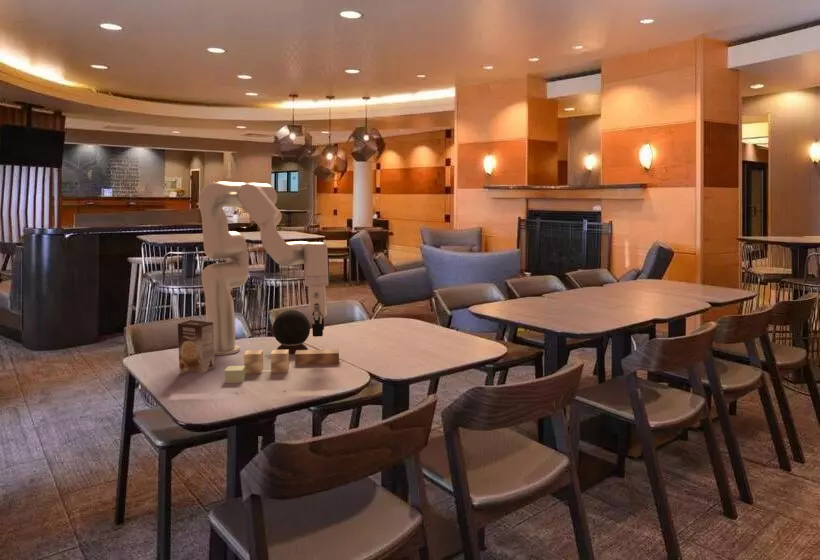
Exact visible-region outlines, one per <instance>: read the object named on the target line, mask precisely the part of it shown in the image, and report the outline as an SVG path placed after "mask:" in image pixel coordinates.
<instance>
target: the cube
mask: <svg viewBox="0 0 820 560" xmlns="http://www.w3.org/2000/svg"><path fill="white" fill-rule="evenodd" d="M246 378H247V377H246V374H245V366H244V365H228V366H227V367H226V368H225V369H224V383H225V384H228V383H229V384H235V383H237V384H238V383H244V382H245V380H246Z"/></svg>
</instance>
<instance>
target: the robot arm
mask: <svg viewBox="0 0 820 560" xmlns="http://www.w3.org/2000/svg"><path fill="white" fill-rule="evenodd" d="M277 201H278V194H277V191H276V189H275V188H274V187H273V186H272V185H271V184H269V183H262V182H261V183H260V182H240V181H239V182H238V181H237V182H235V181H233V182H232V181H214V182H213V181H212V182H211V183H208V184H206V185H205V186H203V188H202V189H201V191H200V192H199V197H198V207H199V211H200V217H201V223H202V238H203V239H202V241H203V250H204V254H205V255H206V257H207V258H208V259H211V260H223V259H225V262H224V261H223V262H215V263H212V264H209V265H207V266H206V267H204V268H203V270H202V272H201V275H200V276H201V278H200V279H201V285H202V287H203V291H204V299H205V300H204V302H205V319H206V321H205V322H213V328H214V356H225V355H232V354H235V353H238V352H239V351H240V350H241V347H240V345H238V344H236V333H235V332H236V329H235V328H236V327H235V326H236V325H235V303H234V299H233V296H232V294H231V292H230V289H234V288H240V287H242V286H244V285H245V284H246V283H247V282H248V279H249V259H248V258H249V255H248V254H249V253H248V244H247V241H246V239H245V237H244V236H243V234H241V233H240V232H238V231H234V230H232V231H231V230H229V225H228V224H229V221H228V218H227V215H226V212H225V210H223V208H225V207H226V208H227V207H230V208H233V207H234V208H235V207H236V208H238V207H240V208H241V207H243V208H244V210H245V211H246V213H248V215H249V216H250V217H251V219H252V220H253V222H254V223H255V224H256V225H257V226H258V228H259V230H260V231H259V233H260V240H261V244H262V246H263V248H264V250H265V251H266V252H267V254H268V255H269V257H270V258H271V259H272V260H273V261H274V262H275V263H277V264H278V265H279V266H282V267H290V266H297V265H304V266H303V268H304V272H303V273H304V287H308V298H309V300H308V301H309V302H308V303H309V311H310V312H309V313H310V316H311V317H312V323H311V328H312V337H316V338H317V337H323V335H324V330H325V318H326V316H327V315H328V309H327V308H328V307H327V290H326V287H327V286H329V267H328V266H329V265H328V264H329V262H328V261H329V260H328V246H327V243H325V242H323V241H322V242H321V241H311V242H310V241H306V240H305V241H303V240H299V241H298V240H297V241H296V240H295V241H285V240H284V238H283V237H282V236H281V235H280V233H279V232H278V230H277V228H276V227H277V226H278V225H279V224H280V222H281V220H282V217H283V216H282V212H281V211H280V210H279V209H278V207H277V205H276V203H277ZM324 317H325V318H324Z"/></svg>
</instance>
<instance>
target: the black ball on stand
mask: <svg viewBox="0 0 820 560" xmlns="http://www.w3.org/2000/svg"><path fill="white" fill-rule="evenodd" d="M272 333H273V336H274V339H275V340H276V341H277V342H278V343H279V344H280V345H279V346H277V348H276V349H275V350H289V355H295V353H296V350H309V349H308V347H307V345H305V344H304V343H305V342H306V341H307V340H308V337H309V336H310V333H311V323H310V320H309V319H308V317H307V316H306V315H305V314H304V313H303V312H301V311H299V310H297V309H289V310H285V311H282V312H281V313H279V314H278V315H277V316H276V318H274V321H273V324H272Z"/></svg>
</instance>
